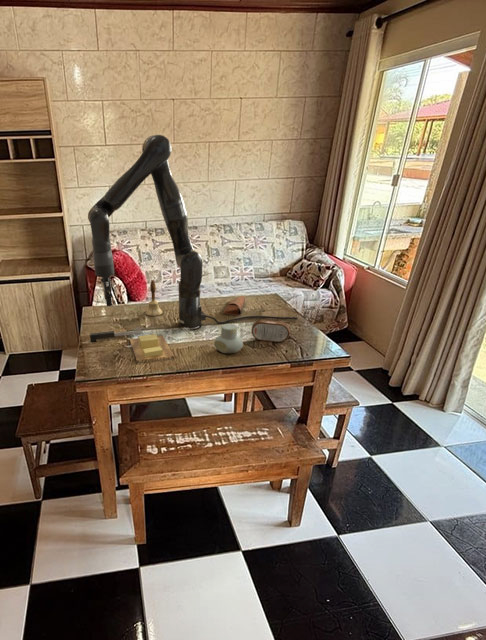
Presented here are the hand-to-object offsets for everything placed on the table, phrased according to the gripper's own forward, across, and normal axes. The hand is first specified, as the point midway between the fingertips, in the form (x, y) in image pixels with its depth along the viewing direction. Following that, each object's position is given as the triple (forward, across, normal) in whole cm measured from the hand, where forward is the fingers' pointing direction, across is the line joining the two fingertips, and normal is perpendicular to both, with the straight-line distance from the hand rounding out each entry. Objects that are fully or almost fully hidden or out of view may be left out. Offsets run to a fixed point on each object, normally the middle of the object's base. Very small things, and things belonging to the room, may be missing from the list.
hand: (108, 302), depth 166 cm
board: (+15, -17, -13) cm, 27 cm away
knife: (+15, -2, -2) cm, 16 cm away
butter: (+14, -16, -13) cm, 25 cm away
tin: (+16, -23, -61) cm, 67 cm away
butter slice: (+13, -22, -13) cm, 29 cm away
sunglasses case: (+16, +16, -61) cm, 66 cm away
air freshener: (+16, -26, -42) cm, 52 cm away
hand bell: (+16, +23, -22) cm, 36 cm away
